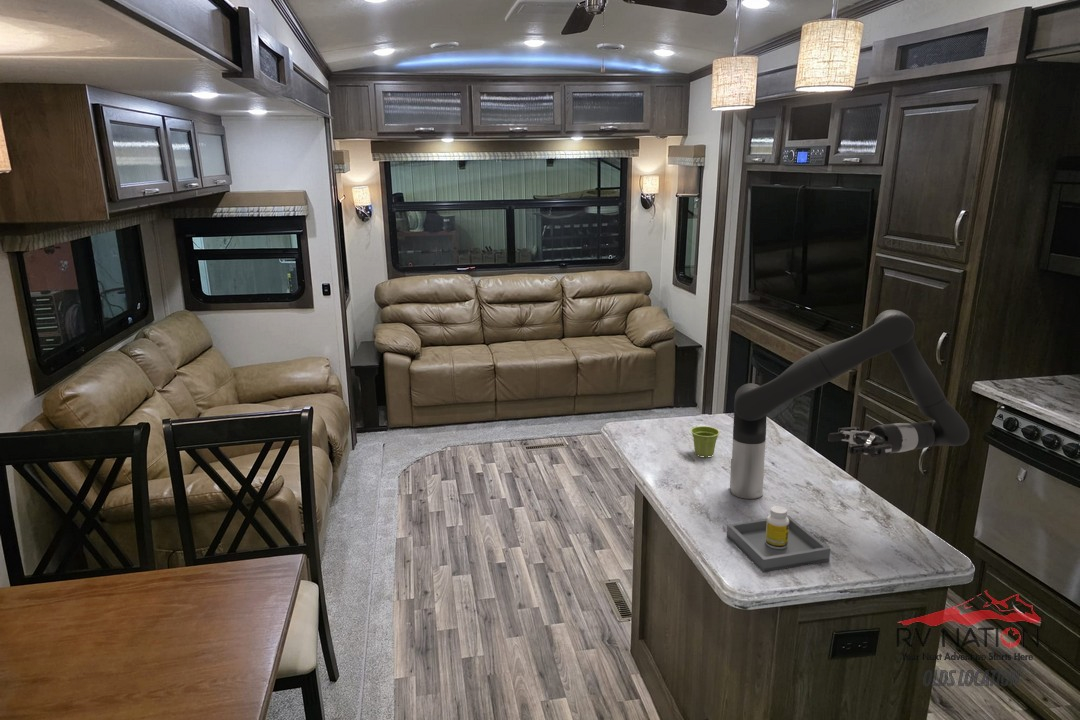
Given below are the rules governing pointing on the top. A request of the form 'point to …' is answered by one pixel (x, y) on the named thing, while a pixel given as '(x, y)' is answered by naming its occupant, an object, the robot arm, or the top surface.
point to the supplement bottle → (777, 528)
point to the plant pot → (704, 440)
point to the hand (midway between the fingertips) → (838, 443)
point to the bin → (767, 559)
